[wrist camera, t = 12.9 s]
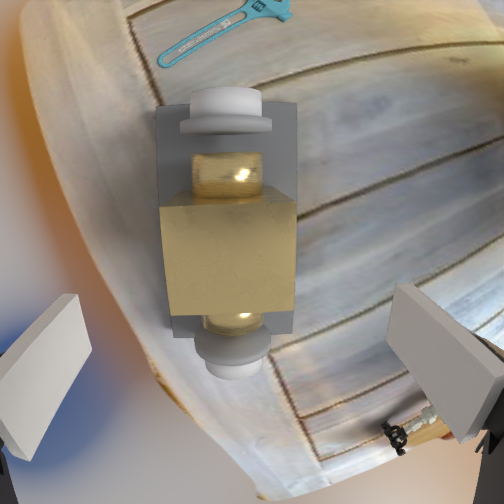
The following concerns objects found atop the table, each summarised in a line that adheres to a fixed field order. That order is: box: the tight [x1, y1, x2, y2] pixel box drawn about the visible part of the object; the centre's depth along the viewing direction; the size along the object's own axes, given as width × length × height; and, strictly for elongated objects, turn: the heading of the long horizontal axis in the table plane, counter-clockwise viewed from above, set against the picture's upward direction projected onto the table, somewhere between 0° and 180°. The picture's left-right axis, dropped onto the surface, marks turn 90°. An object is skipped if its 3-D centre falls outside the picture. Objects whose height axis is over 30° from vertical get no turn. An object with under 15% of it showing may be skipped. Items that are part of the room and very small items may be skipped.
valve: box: [381, 396, 446, 456], centre depth 36 cm, size 7×7×12 cm
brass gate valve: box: [159, 152, 297, 336], centre depth 23 cm, size 8×13×9 cm, turn 1°
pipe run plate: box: [156, 87, 297, 380], centre depth 24 cm, size 12×22×9 cm, turn 1°
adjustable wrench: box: [158, 0, 292, 68], centre depth 23 cm, size 14×1×5 cm
